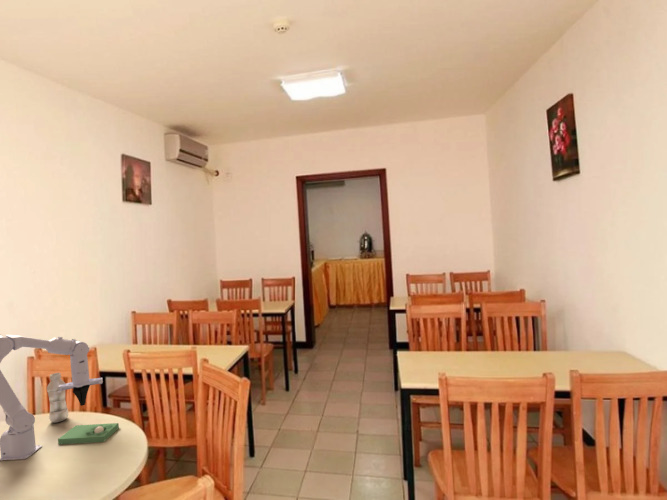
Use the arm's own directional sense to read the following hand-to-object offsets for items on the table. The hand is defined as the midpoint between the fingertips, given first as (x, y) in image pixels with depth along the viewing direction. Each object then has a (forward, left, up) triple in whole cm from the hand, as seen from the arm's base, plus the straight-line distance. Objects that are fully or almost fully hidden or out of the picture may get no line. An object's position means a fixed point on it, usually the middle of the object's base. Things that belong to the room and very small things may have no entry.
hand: (83, 404), depth 154 cm
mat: (+6, -6, -10) cm, 13 cm away
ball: (+9, -6, -8) cm, 14 cm away
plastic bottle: (-16, +8, -10) cm, 21 cm away
